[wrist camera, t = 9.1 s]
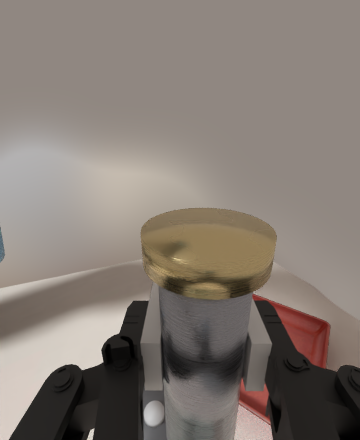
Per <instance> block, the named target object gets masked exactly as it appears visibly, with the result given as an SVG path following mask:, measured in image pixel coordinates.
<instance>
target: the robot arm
mask: <svg viewBox="0 0 360 440" xmlns="http://www.w3.org/2000/svg"><path fill="white" fill-rule="evenodd" d="M4 256H5V252H4V246H3V240H2V235H1V228H0V262H1V261H2V260H3V259H4ZM101 351H102V356H103V363H102V364H100V365H97V366H95V367H92V368H89V369H85V370H81V369H80V368H79V367H78V366H77V365H73V364H70V365H64V366H62V367H60V368H58V369H56V370H55V371H54V372H52V373H51V374H50V376H49V377H48V378H47V379H46V380H45V382H44V384H43V385H42V387H41V389H40V390H39V392H38V393H37V395H36V397H35V398H34V400H33V401H32V403H31V405H30V406H29V408H28V409H27V411H26V413H25V414H24V416H23V418H22V419H21V421H20V422H19V424H18V426H17V427H16V429H15V430H14V432H13V434H12V435H11V437H10V439H9V440H87V438H88V435H89V432H90V430H91V429H94V428H95V429H94V435H93V440H144V421H143V390H144V386H145V390H163V379H164V375H163V356H162V337H161V325H160V306H159V287H158V285H157V284H156V283H154V282H153V284H152V289H151V294H150V299H149V301H133V302H132V303H131V304H130V306H129V307H128V308H127V311H126V314H125V318H124V321H123V324H122V327H121V330H120V333H119V334H117V335H114V336H112V337H111V338H109V339H108V340H107V341H106V342H105V343H104V345H103V347H102V350H101ZM242 379H243V383H244V387H245V391H264V385H265V384H266V387H267V390H268V393H269V395H268V400H267V405H266V412H265V416H268V415H269V416H270V423H271V429H272V436H273V440H360V368H357V367H355V366H350V365H344V366H341V367H340V368H339V370H338V371H337V372H335V371H332V370H328V369H325V368H321V367H318V366H316V365H314V364H312V363H311V362H310V361H309V360H308V359H307V358H306V357H305V356H304V355H303V354H302V353H300V352H298V351H297V349H296V348H295V346H294V344H293V342H292V340H291V338H290V336H289V334H288V332H287V330H286V329H285V327H284V325H283V324H282V321H281V319H280V317H279V315H278V313H277V311H276V310H275V308H274V307H273V306H272V305H271V304H270V303H269V302H268V301H267V300H253V298H252V302H251V310H250V318H249V326H248V334H247V341H246V349H245V357H244V365H243V373H242Z"/></svg>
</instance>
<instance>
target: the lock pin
mask: <svg viewBox="0 0 360 440" xmlns="http://www.w3.org/2000/svg"><path fill="white" fill-rule="evenodd" d="M276 239H277V236H276V233H275V231H274V229H273V228H272V227H271V226H270V225H269V224H267V223H266V222H264V221H262V220H260V219H258V218H256V217H254V216H251V215H248V214H245V213H241V212H237V211H232V210H226V209H216V208H189V209H180V210H174V211H170V212H166V213H163V214H160V215H158V216H155V217H153V218H151V219H150V220H148V221H147V222H146V223H145V224H144V225H143V227H142V229H141V243H142V256H143V266H144V270H145V272H146V274H147V275H148V276H149V278H150V279H151V280H152V281H153V282H154V283H156V284H157V285H158V287H159V306H160V325H161V337H162V356H163V375H164V379H163V381H164V400H165V418H166V437H167V440H234V435H235V428H236V420H237V412H238V404H239V396H240V388H241V381H242V373H243V365H244V357H245V349H246V341H247V334H248V326H249V318H250V310H251V302H252V294H253V292H254V291H256V290H257V289H259V288H260V287H262V286H263V285H264V284H265V283H266V282H267V281H268V279H269V278H270V275H271V271H272V265H273V259H274V252H275V246H276Z"/></svg>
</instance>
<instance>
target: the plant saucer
mask: <svg viewBox="0 0 360 440" xmlns="http://www.w3.org/2000/svg"><path fill="white" fill-rule="evenodd" d="M252 298H253V300H267V301H268V302H269V303H270V304H271V305H272V306H273V307H274V308H275V310H276V311H277V313H278V315H279V317H280V319H281V321H282V324H283V325H284V327H285V329H286V330H287V332H288V334H289V336H290V338H291V340H292V342H293V344H294V346H295V348H296V349H297V351H298V352H300V353H302V354H303V355H304V356H305V357H306V358H307V359H308V360H309V361H310V362H311V363H312V364H314V365H316V366H318V367H321V368H325V369H326V362H327V353H328V344H329V335H330V324H329V323H328V322H326V321H324V320H322V319H319V318H317V317H314V316H311V315H309V314H306V313H303V312H300V311H298V310H295V309H293V308H290V307H287V306H285V305H282V304H279V303H276V302H274V301H271V300H268V299H266V298H263V297H261V296H258V295H255V294H252ZM268 395H269V393H268V390H267V387H266V384H265V385H264V391H245V387H244V383H243V379H242V381H241V388H240V396H239V404H240V405H241V406H243V407H244V408H246V409H247V410H248V411H250V412H251V413H253V414H254V415H256V416H257V417H259V418H260V419H262V420H263V421H265V422H266V423H268V424H269V425H271V423H270V416H269V415H268V416H265V412H266V405H267V400H268Z"/></svg>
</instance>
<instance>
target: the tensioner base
mask: <svg viewBox="0 0 360 440" xmlns="http://www.w3.org/2000/svg"><path fill="white" fill-rule="evenodd" d="M143 421H144V440H167V437H166V418H165V400H164V381H163V390H145V386H144V390H143Z"/></svg>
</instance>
